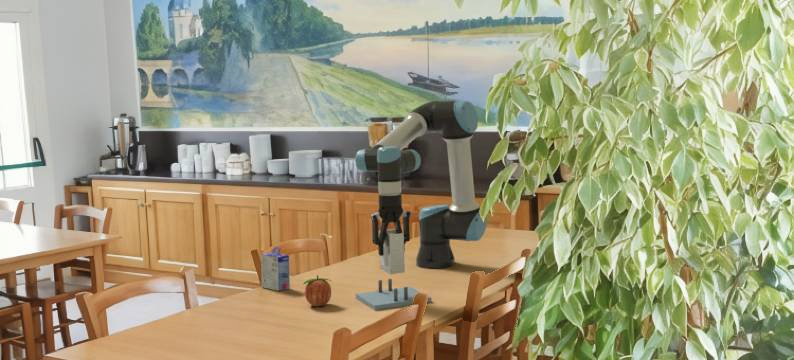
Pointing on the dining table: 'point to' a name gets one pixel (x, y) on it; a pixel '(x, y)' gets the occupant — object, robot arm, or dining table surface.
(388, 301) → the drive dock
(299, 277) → the dining table surface
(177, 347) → the dining table surface
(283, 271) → the ink cartridge box
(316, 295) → the fruit
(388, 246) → the grey tall block
